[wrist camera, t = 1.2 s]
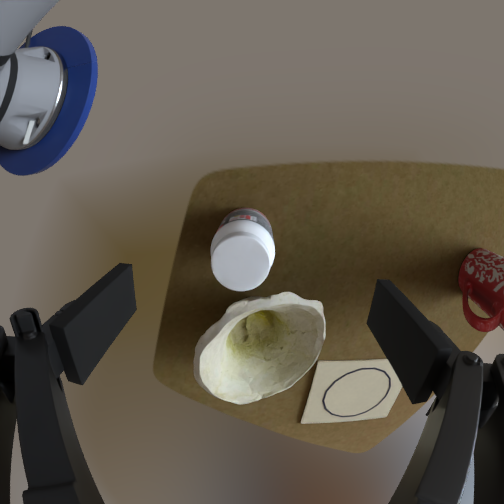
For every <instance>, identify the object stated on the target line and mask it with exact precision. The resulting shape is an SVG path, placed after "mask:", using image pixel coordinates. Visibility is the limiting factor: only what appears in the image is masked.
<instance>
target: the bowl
mask: <svg viewBox="0 0 504 504" xmlns="http://www.w3.org/2000/svg"><path fill="white" fill-rule="evenodd" d="M325 324H326V321H325V318H324V314H323V306H322V303H321V302H320V301H317V300H306V299H302V298H301V297H299V296H297V295H296V294H294V293H291V292H283V293H280V294H277V295H271V296H268V297H266V298H265V297H248V298H245V299H243V300H241V301H238V302H234V303H233V304H232V305H230V306H229V307H228V308H227V310H226V313H225V314H224V315H223V316H222V318H221V319H220V320H219V321H217V322H216V323H215V324H213V325H212V326H211V327H210V328H209V329H208V330H207V331H206V332H205V334H204V335H202V336H201V338H200V339H199V341H198V343H197V345H196V347H195V357H194V362H193V363H194V377H195V379H196V381H197V382H198V384H199V385H200V386H201V387H202V388H203V389H204V390H205V391H207V392H208V393H210V394H211V395H213V396H214V397H216V398H219V399H222V400H225V401H229V402H233V403H236V404H247V403H251V402H253V401H258V400H259V399H261V398H267V397H269V396H272V395H274V394H276V393H279V392H281V391H283V390H286V389H288V388H290V387H291V386H292V385H293V384H294V383H295V382H296V381H298V380H299V379H300V378H301V377H302V376H303V375H304V374H305V373H306V372H307V371H308V370H309V369H310V368H311V367H312V366H313V365H314V363H315V362H316V360H317V358H318V356H319V354H320V351H321V348H322V345H323V342H324V339H325Z"/></svg>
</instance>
